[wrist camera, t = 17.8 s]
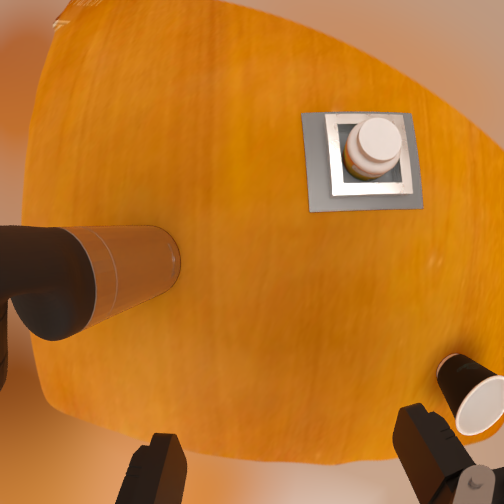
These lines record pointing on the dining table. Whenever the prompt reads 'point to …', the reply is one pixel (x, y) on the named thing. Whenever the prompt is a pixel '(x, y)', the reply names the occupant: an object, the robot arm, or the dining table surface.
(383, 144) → the supplement bottle
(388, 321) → the dining table surface
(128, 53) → the dining table surface
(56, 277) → the robot arm
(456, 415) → the dixie cup
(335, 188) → the socket board
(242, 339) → the dining table surface
